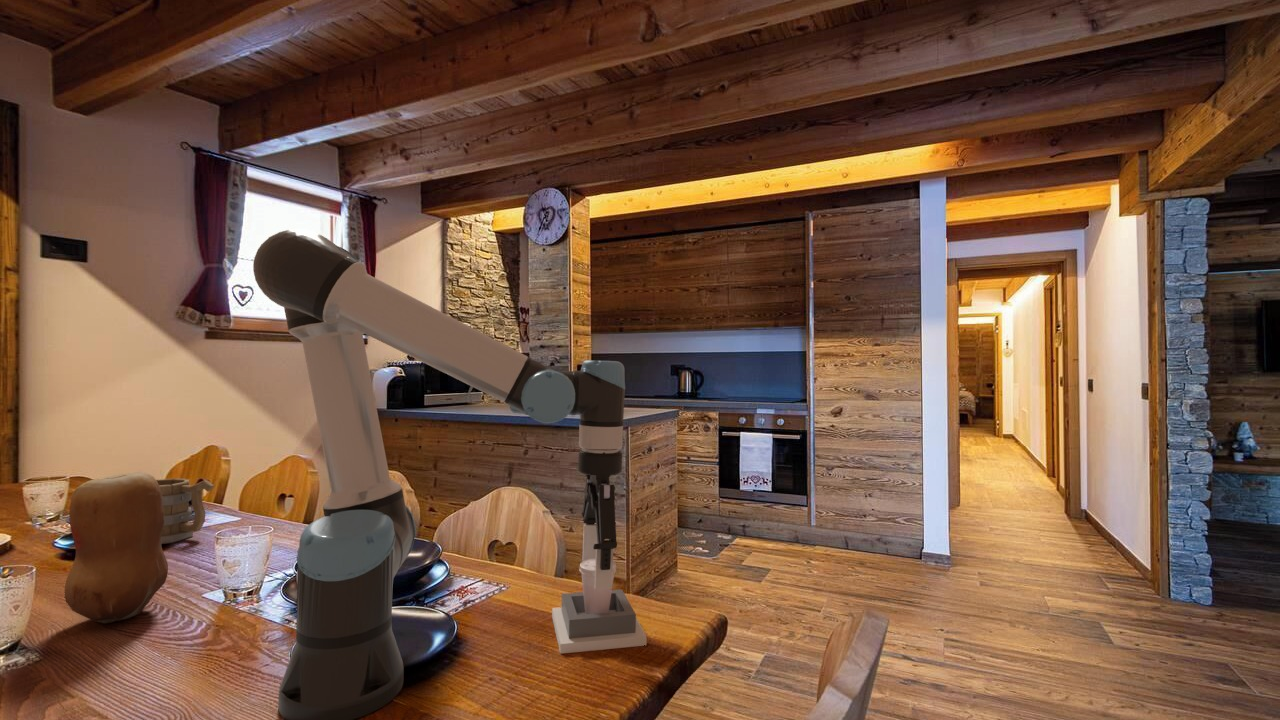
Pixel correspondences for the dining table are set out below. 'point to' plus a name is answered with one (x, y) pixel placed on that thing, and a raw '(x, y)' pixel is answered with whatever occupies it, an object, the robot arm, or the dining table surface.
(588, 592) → the smoothie
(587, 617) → the holder
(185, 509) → the tankard
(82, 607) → the butternut squash
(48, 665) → the dining table surface
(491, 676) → the dining table surface
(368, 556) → the robot arm
